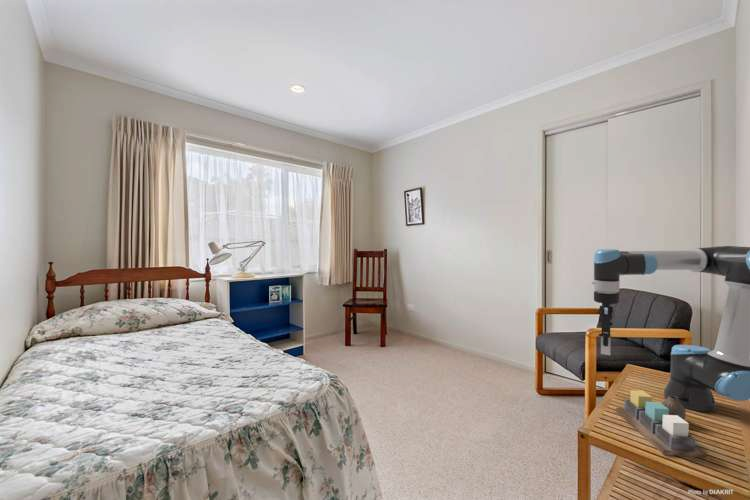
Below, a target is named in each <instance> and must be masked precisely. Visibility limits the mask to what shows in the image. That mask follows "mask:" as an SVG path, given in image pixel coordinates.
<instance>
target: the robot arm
mask: <svg viewBox="0 0 750 500" xmlns="http://www.w3.org/2000/svg"><path fill="white" fill-rule="evenodd" d="M661 270H662V271H665V270H667V271H668V270H669V271H671V270H672V271H673V270H674V271H678V270H679V271H682V270H683V271H684V270H685V271H686V270H687V271H690V272H693V273H704V274H711V275H716V276H720V277H721V276H722V277H724V283H726V285H727V286H728V292H727V296H726V300H725V305H724V307H723V312H722V317H721V321H720V325H719V329H718V333H717V338H716V342H715V346H714V349H713V350H712V349H710V348H707V347H704V346H700V345H694V344H693V345H691V344H675V345H673V346H672V347H671V352H670V374H669V375H670V376H669V380H668V382H667V384H666V385H665V388H664V389H663V397H664V399H667V398H668V397H669V396H674V397H677V398H678V400H679V401H680V403H681V404H682V405H683V406H684V408H685V409H688V410H691V411H695V412H702V413H703V412H704V413H711V412H714V411H715V410H716V408H717V407H716V406H717V404H716V401H715V398H714V395H713V393H712V391H713V392H715V393H716V394H718V395H720V396H722V397H725V398H727V399H729V400H732V401H739V402H743V401H748V400H750V246H737V245H736V246H734V245H721V246H720V245H719V246H708V247H693V248H689V249H688V250H625V251H622V250H619V249H613V248H601V249H596V250H595V251H594V256H593V281H592V282H591V284H592V285H593V290H594V291H593V301H594V302H596V303H597V304H598V303H599V304H601V305H599V313H600V314H599V317H600V319H601V332H600V333H598V336H599V337H600V354H601V355H606V356H611V336H612V335H611V327H612V326H613V322H611V321H612V319H613V313H614V311H613V310H614V307H613V306H611V305H616V304H618V303H620V293H619V292H620V283H621V281H620V276H624V275H625V276H627V275H628V276H630V275H631V276H633V275H634V276H636V275H638V276H640V275H641V276H645V275H652V274H654V273H656V271H661Z"/></svg>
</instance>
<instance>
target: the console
mask: <svg viewBox="0 0 750 500" xmlns="http://www.w3.org/2000/svg"><path fill="white" fill-rule="evenodd" d="M615 412H616V413H617V414H619V416H621V417H622V418H623V420H625V421H626V422H627V423H628V424H629V425H630V426H631V427H633V428H634V430H636V431H637V432H638V433H639V434H640V435H641V436H643V438H645V439H646V440H647V441H648V442H649V443H650V445H652V446H653V447H654V446H655V447H656V448H657V449H656V448H655V447H654V448H655V449H656V450H658V451H659V452H660V454H662V455H663V456H675V455H676V456H677V457H694V458H706V457H707V452H706V451H704V450H703V449H702V448H700V447H699V446H698V445H697V444H696V441H697V440H696V438H695V437H694V436H693V435H691V434H690V433H689V432H688V437H681V436H672V435H671V434H669V433H668V432H667V431H666V430H664V429H663V428H662V422H663V421H653V420H652V419H651V418H650V417H649V416H647V415H646V414H645V408H638V407H636V406H635V405H634V404H633V403H631V402H630V398H625V399H624V407H615Z"/></svg>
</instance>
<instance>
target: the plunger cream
mask: <svg viewBox="0 0 750 500" xmlns="http://www.w3.org/2000/svg"><path fill="white" fill-rule="evenodd" d="M689 427H690V423H689V422H688V421H686V420H685V419H684V420H683V419H682V418H680V417H679V416H678V415H663V422H662V428H663V429H664V430H666V431H667V432H668V433H669V434H671V435H672V436H681V437H688V433H689V430H690V429H689Z"/></svg>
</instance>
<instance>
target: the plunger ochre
mask: <svg viewBox="0 0 750 500" xmlns="http://www.w3.org/2000/svg"><path fill="white" fill-rule="evenodd" d="M629 399H630V402H631V403H633V404H634V405H635V406H636V407H638V408H645V405H646V402H653V400H652V399H653V396H652V395H650V394H648V393H647V392H646V391H644V390H640V389H639V390H635V389H634V390H633V389H631V390H630V397H629Z"/></svg>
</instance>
